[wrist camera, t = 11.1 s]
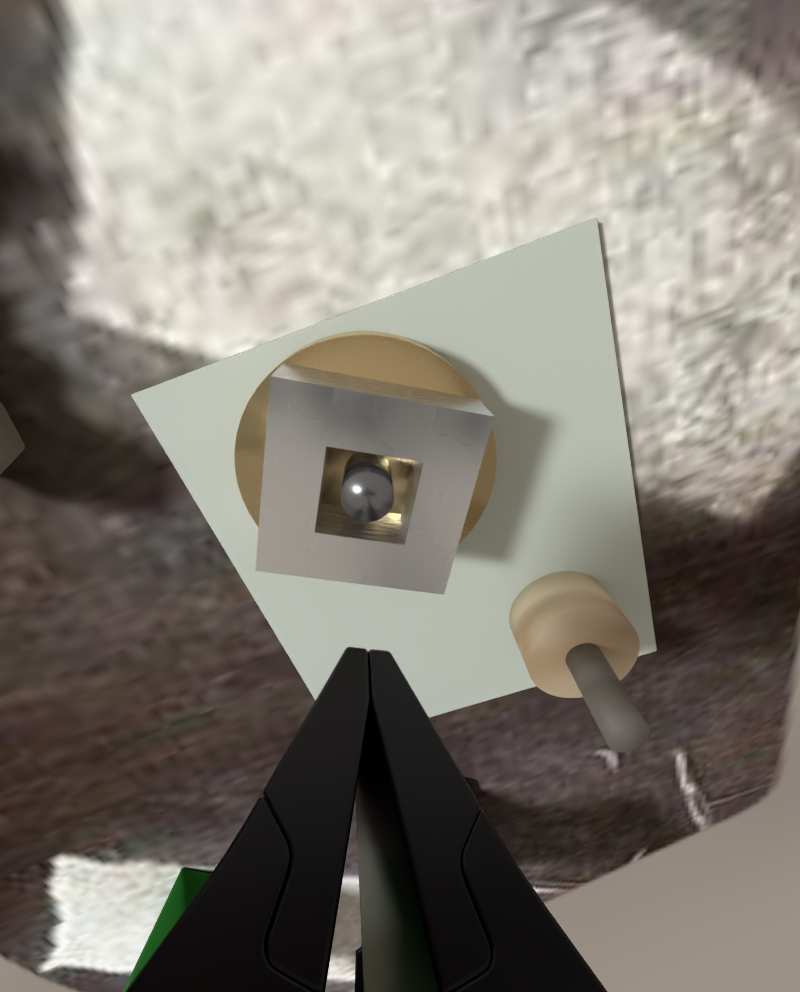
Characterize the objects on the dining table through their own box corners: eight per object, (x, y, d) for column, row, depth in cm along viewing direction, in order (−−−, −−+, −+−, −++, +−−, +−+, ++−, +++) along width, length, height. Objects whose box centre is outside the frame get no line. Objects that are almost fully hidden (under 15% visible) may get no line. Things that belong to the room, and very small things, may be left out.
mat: (652, 645, 25) (656, 650, 25) (341, 736, 27) (341, 742, 26) (591, 218, 16) (596, 217, 16) (135, 392, 18) (131, 394, 18)
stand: (614, 634, 24) (701, 761, 18) (521, 662, 25) (573, 795, 18) (600, 557, 22) (692, 670, 16) (498, 590, 23) (548, 711, 16)
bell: (512, 520, 21) (540, 568, 17) (305, 587, 22) (293, 647, 18) (448, 290, 17) (469, 293, 13) (197, 385, 18) (154, 411, 14)
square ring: (436, 560, 20) (444, 594, 18) (268, 537, 19) (254, 571, 17) (478, 398, 17) (494, 416, 15) (284, 363, 16) (270, 375, 14)
